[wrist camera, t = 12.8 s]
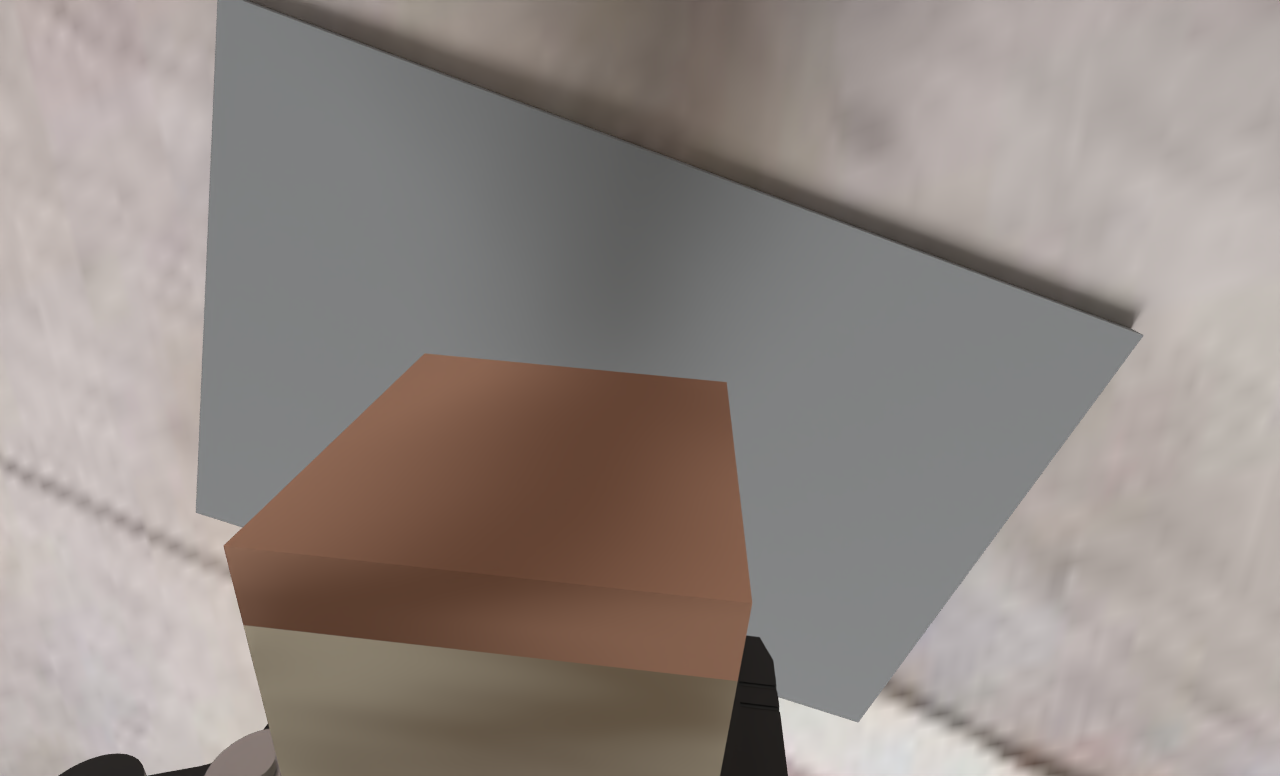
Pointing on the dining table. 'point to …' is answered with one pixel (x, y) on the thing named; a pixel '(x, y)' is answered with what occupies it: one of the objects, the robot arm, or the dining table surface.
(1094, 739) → the dining table surface
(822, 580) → the rubber mat
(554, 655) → the birch block
